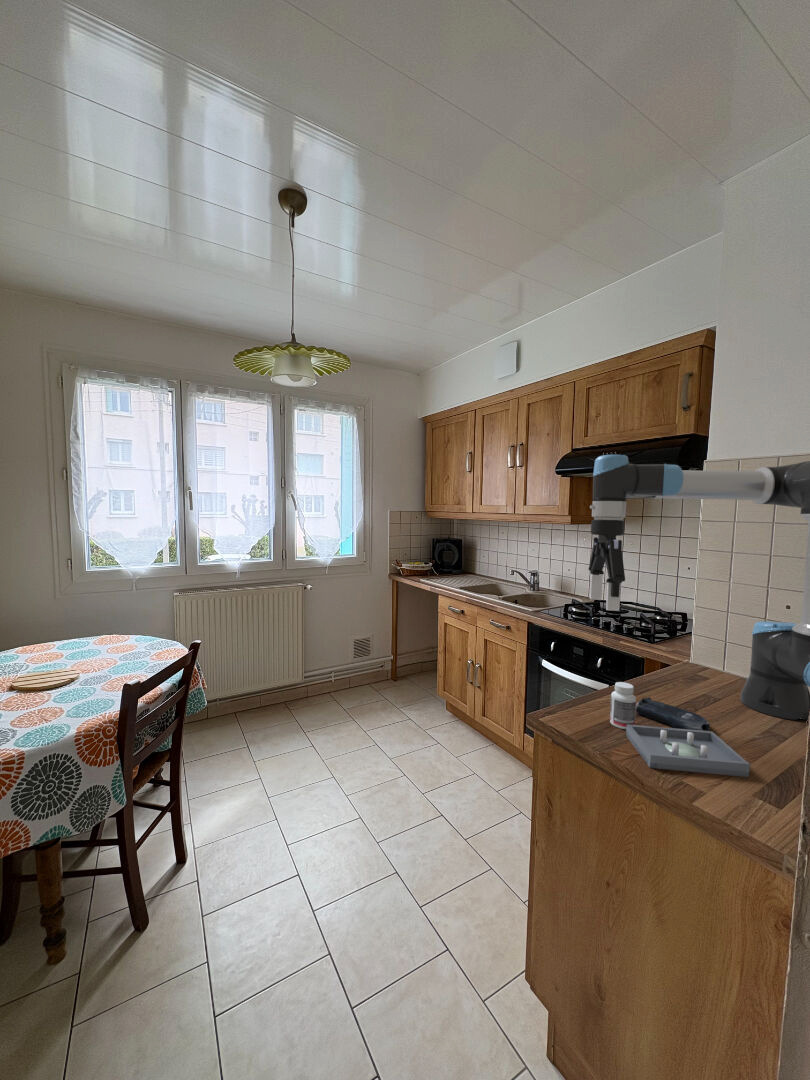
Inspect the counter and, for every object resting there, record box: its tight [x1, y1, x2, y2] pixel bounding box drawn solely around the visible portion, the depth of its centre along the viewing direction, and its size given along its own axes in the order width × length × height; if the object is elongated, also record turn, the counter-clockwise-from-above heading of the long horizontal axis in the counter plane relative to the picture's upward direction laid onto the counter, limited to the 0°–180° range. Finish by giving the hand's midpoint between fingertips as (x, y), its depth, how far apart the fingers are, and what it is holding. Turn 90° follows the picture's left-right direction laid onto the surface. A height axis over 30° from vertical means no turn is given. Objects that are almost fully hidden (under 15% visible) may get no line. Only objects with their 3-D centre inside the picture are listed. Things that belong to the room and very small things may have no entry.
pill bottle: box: [609, 681, 637, 730], centre depth 105 cm, size 5×5×10 cm
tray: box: [625, 724, 751, 778], centre depth 92 cm, size 18×13×4 cm
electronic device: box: [635, 696, 711, 731], centre depth 108 cm, size 9×6×15 cm
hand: (603, 604), depth 109 cm, fingers open, 13 cm apart
